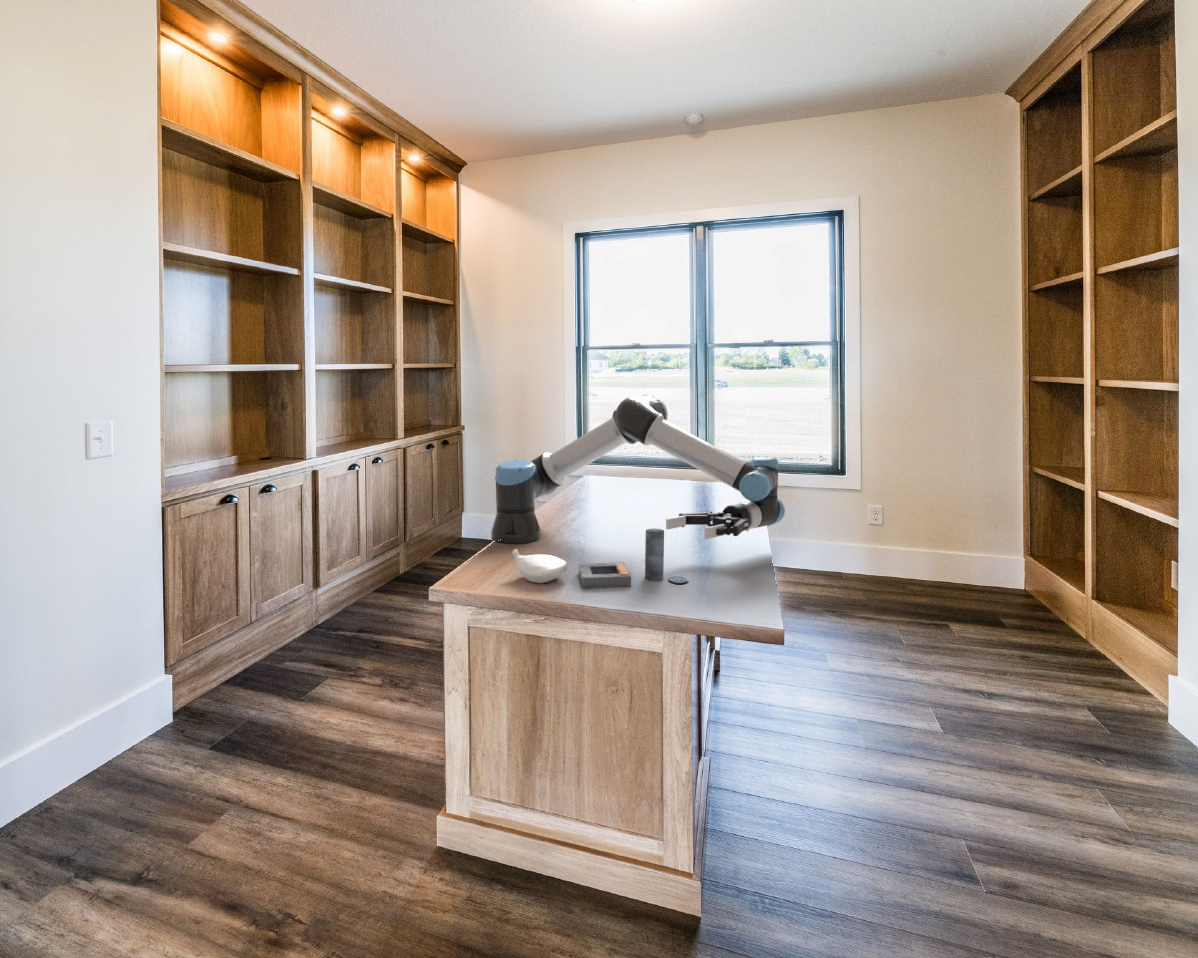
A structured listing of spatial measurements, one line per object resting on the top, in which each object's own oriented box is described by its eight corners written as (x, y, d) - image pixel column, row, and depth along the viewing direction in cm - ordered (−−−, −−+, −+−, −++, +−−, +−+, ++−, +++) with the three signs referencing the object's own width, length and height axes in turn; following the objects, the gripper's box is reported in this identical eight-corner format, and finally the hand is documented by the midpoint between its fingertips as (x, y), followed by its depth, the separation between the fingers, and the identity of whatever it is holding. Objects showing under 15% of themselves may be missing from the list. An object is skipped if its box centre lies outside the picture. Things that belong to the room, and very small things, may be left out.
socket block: (582, 588, 151) (582, 577, 151) (578, 573, 163) (578, 563, 162) (631, 586, 153) (631, 575, 152) (623, 572, 164) (623, 561, 164)
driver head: (522, 540, 164) (555, 528, 156) (543, 575, 166) (577, 565, 158) (498, 562, 156) (531, 551, 148) (520, 598, 158) (554, 589, 150)
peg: (641, 577, 160) (641, 530, 158) (654, 574, 162) (655, 527, 161) (653, 582, 156) (654, 533, 154) (667, 578, 159) (668, 531, 157)
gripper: (778, 539, 167) (723, 552, 155) (706, 523, 187) (652, 534, 174) (779, 510, 166) (723, 522, 153) (706, 497, 186) (652, 506, 173)
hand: (685, 528), depth 164 cm, fingers open, 13 cm apart
